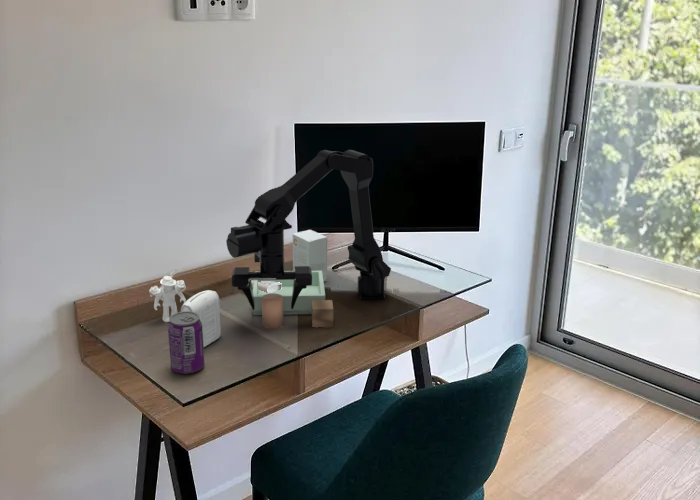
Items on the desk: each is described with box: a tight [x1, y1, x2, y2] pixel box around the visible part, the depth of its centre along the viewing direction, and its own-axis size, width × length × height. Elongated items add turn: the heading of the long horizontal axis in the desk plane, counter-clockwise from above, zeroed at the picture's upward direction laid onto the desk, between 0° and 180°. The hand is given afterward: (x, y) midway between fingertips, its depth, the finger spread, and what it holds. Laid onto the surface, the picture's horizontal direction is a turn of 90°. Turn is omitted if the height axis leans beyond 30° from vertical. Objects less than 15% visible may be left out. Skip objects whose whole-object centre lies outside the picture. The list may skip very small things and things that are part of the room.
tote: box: [252, 270, 326, 316], centre depth 189 cm, size 18×16×5 cm
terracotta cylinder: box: [261, 293, 284, 330], centre depth 176 cm, size 5×5×7 cm
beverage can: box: [167, 311, 205, 375], centre depth 155 cm, size 7×7×12 cm
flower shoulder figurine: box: [148, 269, 187, 323], centre depth 176 cm, size 9×4×12 cm, turn 127°
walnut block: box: [311, 299, 334, 329], centre depth 177 cm, size 5×5×5 cm
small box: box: [292, 229, 328, 282], centre depth 201 cm, size 8×6×13 cm
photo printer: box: [180, 289, 222, 348], centre depth 165 cm, size 10×4×12 cm, turn 151°
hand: (272, 308), depth 176 cm, fingers open, 9 cm apart
